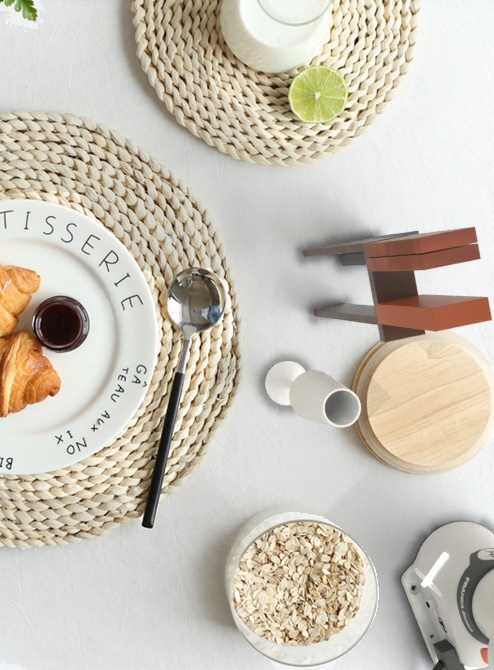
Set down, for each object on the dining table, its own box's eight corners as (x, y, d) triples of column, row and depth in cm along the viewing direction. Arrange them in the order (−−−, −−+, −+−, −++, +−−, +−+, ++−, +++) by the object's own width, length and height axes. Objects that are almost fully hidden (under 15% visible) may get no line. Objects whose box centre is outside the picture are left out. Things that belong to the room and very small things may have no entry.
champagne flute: (255, 382, 123) (303, 406, 99) (288, 351, 123) (343, 368, 99) (285, 414, 123) (340, 447, 99) (318, 384, 124) (380, 408, 100)
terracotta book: (426, 314, 98) (492, 320, 83) (377, 323, 97) (435, 331, 82) (422, 294, 98) (488, 296, 83) (374, 303, 97) (431, 308, 82)
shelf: (424, 332, 99) (496, 343, 83) (376, 342, 99) (439, 354, 82) (406, 234, 99) (475, 225, 82) (358, 243, 99) (417, 236, 82)
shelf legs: (346, 309, 124) (417, 317, 99) (314, 316, 123) (377, 325, 99) (334, 244, 123) (402, 235, 99) (302, 250, 123) (362, 243, 99)
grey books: (380, 258, 124) (423, 255, 109) (342, 266, 123) (379, 264, 109) (376, 236, 124) (418, 230, 109) (338, 243, 123) (375, 239, 109)
